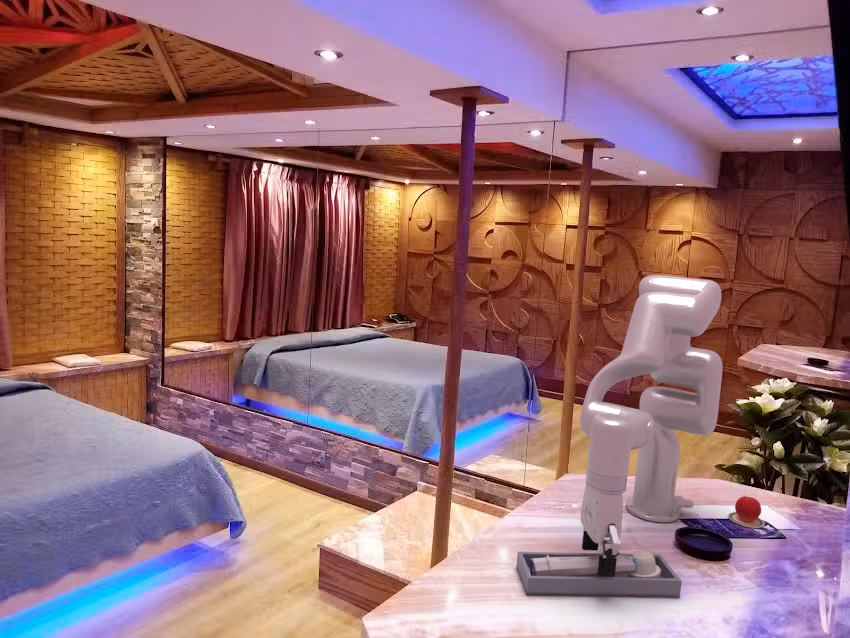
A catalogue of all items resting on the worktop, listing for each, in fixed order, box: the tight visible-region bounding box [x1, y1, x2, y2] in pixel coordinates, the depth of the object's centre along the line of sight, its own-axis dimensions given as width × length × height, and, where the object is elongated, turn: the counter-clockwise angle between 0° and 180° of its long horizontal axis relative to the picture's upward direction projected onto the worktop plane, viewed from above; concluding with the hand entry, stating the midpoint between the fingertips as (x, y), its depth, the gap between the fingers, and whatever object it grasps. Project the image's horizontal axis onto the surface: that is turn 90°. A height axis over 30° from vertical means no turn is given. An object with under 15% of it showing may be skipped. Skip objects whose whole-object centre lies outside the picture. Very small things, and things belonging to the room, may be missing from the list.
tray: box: [515, 551, 683, 599], centre depth 125 cm, size 30×10×4 cm, turn 94°
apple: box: [727, 495, 765, 529], centre depth 156 cm, size 8×8×6 cm
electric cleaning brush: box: [529, 550, 661, 578], centre depth 124 cm, size 5×7×25 cm
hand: (597, 562), depth 125 cm, fingers open, 9 cm apart
